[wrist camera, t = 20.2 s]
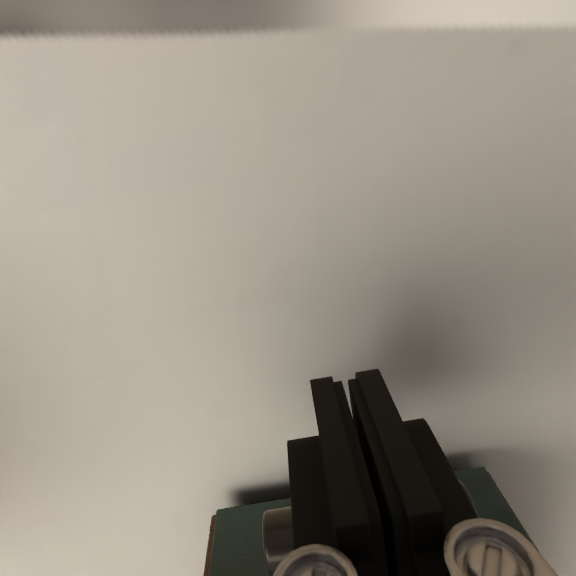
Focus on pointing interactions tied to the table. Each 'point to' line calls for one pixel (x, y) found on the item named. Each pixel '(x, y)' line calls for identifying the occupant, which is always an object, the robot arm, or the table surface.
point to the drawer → (279, 533)
